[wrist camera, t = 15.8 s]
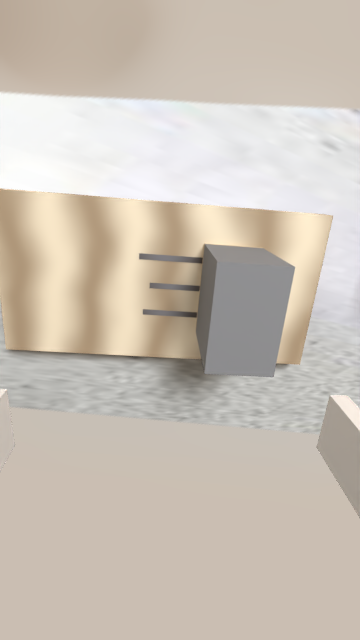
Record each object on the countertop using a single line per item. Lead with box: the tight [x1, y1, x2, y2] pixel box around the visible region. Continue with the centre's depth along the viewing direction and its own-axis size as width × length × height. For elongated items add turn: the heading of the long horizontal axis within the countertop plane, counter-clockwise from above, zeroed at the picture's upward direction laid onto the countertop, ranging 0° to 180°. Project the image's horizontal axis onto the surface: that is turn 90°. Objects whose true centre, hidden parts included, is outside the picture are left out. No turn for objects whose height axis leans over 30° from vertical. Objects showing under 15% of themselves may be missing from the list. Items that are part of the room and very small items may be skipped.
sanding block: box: [195, 243, 295, 377], centre depth 26 cm, size 8×5×8 cm, turn 176°
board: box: [0, 189, 333, 365], centre depth 31 cm, size 28×14×2 cm, turn 86°
